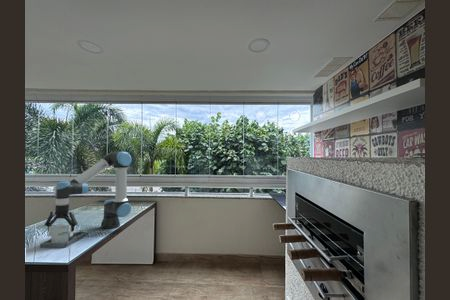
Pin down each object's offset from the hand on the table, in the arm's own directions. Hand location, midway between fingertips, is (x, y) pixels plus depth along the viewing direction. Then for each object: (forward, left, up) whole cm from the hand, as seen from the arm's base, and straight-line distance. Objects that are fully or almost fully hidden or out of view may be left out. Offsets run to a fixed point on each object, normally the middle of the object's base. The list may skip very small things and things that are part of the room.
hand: (60, 236), depth 158 cm
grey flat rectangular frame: (0, -6, -5) cm, 8 cm away
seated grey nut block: (0, -13, -5) cm, 14 cm away
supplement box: (0, 0, -5) cm, 5 cm away
